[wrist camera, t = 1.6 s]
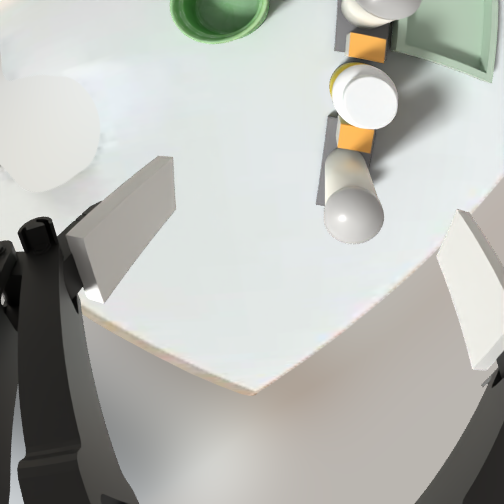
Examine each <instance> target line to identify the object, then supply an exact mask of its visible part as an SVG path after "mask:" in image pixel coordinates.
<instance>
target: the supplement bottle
mask: <svg viewBox="0 0 504 504" xmlns="http://www.w3.org/2000/svg"><path fill="white" fill-rule="evenodd" d="M329 89H330V94H331V97H332V101H333V104H334V106H335V108H336V110H337V112H338V113H339V115H340V116H341V117H342V118H343V119H344V120H345V121H346V122H348V123H349V124H351V125H353V126H356V127H359V128H364V129H379V128H382V127H384V126H386V125H388V124H389V123H390V122H391V121H392V120H393V119H394V117H395V115H396V113H397V109H398V93H397V89H396V87H395V84H394V83H393V81H392V80H391V78H390V77H389V76H388V75H387V74H386V73H384V72H383V71H382V70H380V69H378V68H376V67H374V66H371V65H368V64H364V63H361V62H349V63H345V64H343V65H341V66H339V67H338V68H337V69H336V70H335V71H334V73H333V74H332V76H331V79H330V84H329Z"/></svg>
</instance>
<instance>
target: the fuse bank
mask: <svg viewBox="0 0 504 504" xmlns="http://www.w3.org/2000/svg"><path fill="white" fill-rule="evenodd" d="M421 1H422V0H338V3H337V20H336V34H335V47H334V51H339V52H344V56H347V57H353V58H358V59H363V60H368V61H373V62H379V63H384V60H386V56H387V46H388V35H389V22H391V21H394V20H399V19H403V18H406V17H408V16H410V15H412V14H413V13H415V12H416V11H417V9H418V8H419V6H420V4H421ZM375 134H376V129H364V128H359V127H356V126H353V125H351V124H349V123H348V122H346V121H345V120H344V119H343V118H342V117H341V116H340V115H339V114H338V117H331V116H328V118H327V127H326V135H325V143H324V150H323V158H322V165H321V172H320V179H319V186H318V193H317V199H316V205H322V206H325V207H324V224H325V227H326V229H327V231H328V232H329V234H330V235H331V236H332V237H333V238H335V239H336V240H338V241H340V242H343V243H347V244H360V243H364V242H366V241H369V240H370V239H372V238H373V237H374V236H376V235H377V234H378V232H379V231H380V229H381V227H382V225H383V221H384V212H383V209H382V205H381V203H380V201H379V199H378V197H377V194H376V191H375V188H374V185H373V182H372V179H371V176H370V173H369V165H370V160H371V155H372V150H373V145H374V139H375Z"/></svg>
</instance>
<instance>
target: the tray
mask: <svg viewBox="0 0 504 504" xmlns="http://www.w3.org/2000/svg"><path fill="white" fill-rule="evenodd" d="M497 30H498V0H422V1H421V4H420V6H419V8H418V9H417V11H416V12H415V13H413V14H412V15H410V16H408V17H406V18H403V19H399V20H394V21H393V27H392V39H391V49H390V50H391V51H395V52H399V53H403V54H406V55H410V56H414V57H417V58H421V59H424V60H427V61H430V62H433V63H437V64H440V65H443V66H445V67H448V68H451V69H454V70H457V71H459V72H462V73H465V74H467V75H470V76H472V77H475V78H477V79H479V80H482V81H486V82H489V83H492V78H493V71H494V64H495V55H496V44H497Z"/></svg>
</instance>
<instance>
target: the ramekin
mask: <svg viewBox="0 0 504 504" xmlns="http://www.w3.org/2000/svg"><path fill="white" fill-rule="evenodd" d="M268 10H269V0H170V12H171V16H172V18H173V21H174V23H175V24H176V26H177V27H178V28H179V30H180V31H181V32H182V33H183V34H185V35H186V36H188V37H189V38H191V39H193V40H195V41H198V42H202V43H208V44H219V43H226V42H229V41H233V40H236V39H239V38H242V37H245V36H247V35H249V34H251V33H252V32H254V31H255V30H256V29H257V28H258V27H259V26H260V25H261V24H262V23H263V22H264V20H265V18H266V16H267V14H268Z"/></svg>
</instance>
